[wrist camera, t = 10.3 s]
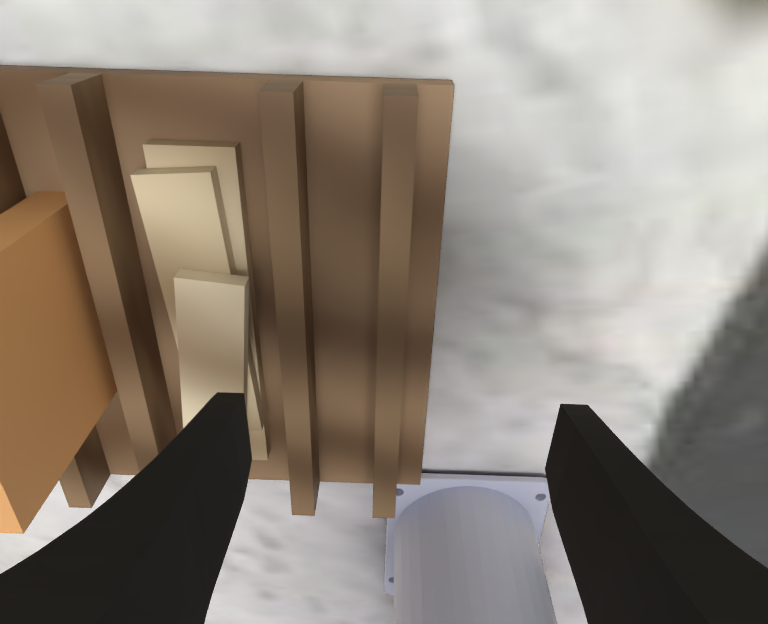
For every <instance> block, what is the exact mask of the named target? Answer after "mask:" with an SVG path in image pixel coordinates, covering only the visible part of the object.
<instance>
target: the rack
mask: <svg viewBox="0 0 768 624" xmlns="http://www.w3.org/2000/svg"><path fill="white" fill-rule="evenodd" d="M454 86H455V85H454V83H453V81H452V80H433V79H403V78H373V77H343V76H312V75H282V74H252V73H222V72H191V71H161V70H131V69H101V68H70V67H40V66H10V65H0V214H2V213H3V212H5V211H6V210H8V209H10V208H11V207H13V206H14V205H16V204H18V203H19V202H21V201H22V200H24V199H26V198H27V197H29V196H30V195H32V194H34V193H35V192H37V191H59V192H65V195H66V199H67V203H68V206H69V210H70V214H71V218H72V221H73V225H74V229H75V233H76V236H77V240H78V244H79V248H80V251H81V255H82V259H83V263H84V266H85V270H86V274H87V278H88V281H89V285H90V289H91V293H92V296H93V300H94V304H95V308H96V311H97V315H98V319H99V323H100V326H101V330H102V334H103V338H104V341H105V345H106V349H107V352H108V356H109V360H110V364H111V367H112V371H113V375H114V379H115V382H116V386H117V390H118V391H117V392H116V394H115V395H114V397H113V398H112V400H111V402H110V403H109V405H108V406H107V408H106V409H105V411H104V412H103V414H102V415H101V417H100V418H99V420H98V421H97V423H96V424H95V426H94V427H93V429H92V430H91V432H90V433H89V435H88V436H87V438H86V440H85V441H84V443H83V444H82V446H81V447H80V449H79V450H78V452H77V453H76V455H75V456H74V458H73V459H72V461H71V462H70V464H69V465H68V467H67V468H66V470H65V471H64V473H63V474H62V476H61V478H60V479H59V481H60V483H61V486H62V489H63V492H64V494H65V497H66V500H67V502H68V505H69V507H78V508H92V506H93V505H94V503H95V501H96V499H97V497H98V496H99V494H100V492H101V490H102V489H103V487H104V485H105V483H106V482H107V480H108V478H109V476H110V474H119V475H137V474H138V473H139V472H140V471H141V470H142V469H143V468H144V467H145V466H146V465H148V464H149V463H150V462H151V461H152V460H153V459H154V458H155V457H156V456H157V455H158V454H159V453H160V452H161V451H162V450H163V449H164V448H165V447H166V446H167V445H168V444H169V443H170V442H171V441H172V440H173V439H174V438H175V437H176V436H177V435H178V434H179V433H180V432H181V430H182V429H183V418H182V402H181V386H180V370H179V354H178V348H177V344H176V341H175V337H174V333H173V330H172V326H171V322H170V319H169V315H168V311H167V308H166V304H165V300H164V297H163V293H162V289H161V286H160V282H159V278H158V275H157V271H156V268H155V264H154V260H153V257H152V253H151V249H150V246H149V242H148V238H147V235H146V231H145V227H144V224H143V220H142V216H141V213H140V209H139V205H138V202H137V198H136V194H135V191H134V187H133V183H132V180H131V176H130V175H131V174H132V173H134V172H135V171H136V170H137V169H140V168H147V166H146V161H145V155H144V150H143V144H144V143H145V142H147V141H148V140H150V139H169V140H199V141H229V142H240V148H241V158H242V168H243V178H244V188H245V198H246V208H247V218H248V228H249V238H250V248H251V258H252V268H253V278H254V288H255V298H256V308H257V318H258V328H259V338H260V348H261V358H262V368H263V378H264V388H265V398H266V408H267V418H268V428H269V438H270V448H271V450H270V453H269V457H268V460H252V463H251V468H250V473H249V478H248V479H263V480H290V493H291V505H292V515H309V516H315V510H316V503H317V496H318V490H319V483H320V481H321V482H350V483H374V485H373V518H395V509H396V491H397V484H408V485H420V482H421V470H422V458H423V447H424V435H425V423H426V412H427V400H428V388H429V377H430V365H431V353H432V342H433V330H434V319H435V307H436V295H437V284H438V272H439V260H440V249H441V237H442V225H443V214H444V202H445V190H446V179H447V167H448V155H449V144H450V132H451V121H452V109H453V97H454Z"/></svg>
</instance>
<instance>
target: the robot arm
mask: <svg viewBox="0 0 768 624" xmlns="http://www.w3.org/2000/svg"><path fill="white" fill-rule="evenodd" d="M251 463H252V453H251V444H250V436H249V428H248V420H247V412H246V404H245V396H244V393H228V392H217V393H216V394H215V395H214V396H213V397H212V398H211V399H210V400H209V401H208V402H207V403H206V404H205V405H204V407H203V408H202V409H201V410H200V411H199V412H198V413H197V414H196V415H195V416H194V418H193V419H192V420H191V421H190V422H189V423H188V424H187V425H186V426H185V427H184V428H183V429H182V430H181V432H180V433H179V434H178V435H177V436H176V437H175V438H174V439H173V440H172V441H171V442H170V443H169V444H168V445H167V446H166V447H165V448H164V449H163V450H162V451H161V452H160V453H159V454H158V455H157V456H156V457H155V458H154V459H153V460H152V461H151V462H150V463H149V464H148V465H146V466H145V467H144V468H143V469H142V470H141V471H140V472H139V473H138V474H137V475H136V476H135V477H134V478H132V479H131V480H130V481H129V482H128V483H127V484H126V485H125V486H124V487H122V488H121V489H120V490H119V491H118V492H117V493H115V494H114V495H113V496H112V497H111V498H110V499H108V500H107V501H106V502H105V503H103V504H102V505H101V506H100V507H98V508H97V509H96V510H95V511H93V512H92V513H91V514H90V515H88V516H87V517H86V518H84V519H83V520H82V521H80V522H79V523H78V524H76V525H75V526H73V527H72V528H70V529H69V530H68V531H66V532H65V533H63V534H62V535H60V536H59V537H57V538H56V539H55V540H53V541H52V542H50V543H49V544H47V545H46V546H44V547H43V548H42V549H40V550H39V551H37V552H35V553H34V554H32V555H31V556H29V557H28V558H26V559H24V560H23V561H21V562H20V563H18V564H16V565H15V566H13V567H12V568H10V569H8V570H6V571H5V572H3V573H1V574H0V624H204V622H205V618H206V614H207V610H208V607H209V603H210V600H211V596H212V593H213V590H214V587H215V584H216V581H217V578H218V575H219V572H220V569H221V566H222V563H223V560H224V557H225V555H226V552H227V549H228V546H229V543H230V540H231V537H232V534H233V531H234V528H235V525H236V522H237V519H238V516H239V513H240V510H241V507H242V504H243V501H244V497H245V492H246V487H247V483H248V478H249V473H250V468H251ZM545 472H546V477H547V478H543V477H520V476H491V475H462V474H433V473H421V482H420V485H408V484H397V489H398V488H399V489H400V490H397V491H396V509H395V518H387V527H386V549H385V571H384V592H385V593H386V594H387V595H390V596H394V624H557V621H556V617H555V613H554V609H553V605H552V601H551V596H550V592H549V588H548V584H547V580H546V576H545V572H544V568H543V564H542V559H541V555H540V551H539V547H538V544H539V540H540V536H541V532H542V528H543V524H544V520H545V517H546V513H547V509H548V505H549V501H550V499H551V504H552V509H553V513H554V516H555V520H556V523H557V526H558V529H559V532H560V536H561V539H562V542H563V545H564V548H565V551H566V554H567V557H568V560H569V564H570V567H571V570H572V573H573V576H574V579H575V582H576V585H577V588H578V591H579V594H580V598H581V601H582V604H583V607H584V611H585V614H586V618H587V622H588V624H768V568H766V567H765V566H763V565H762V564H761V563H759V562H758V561H756V560H755V559H753V558H752V557H751V556H749V555H748V554H747V553H745V552H744V551H743V550H741V549H740V548H738V547H737V546H736V545H734V544H733V543H732V542H731V541H729V540H728V539H727V538H726V537H724V536H723V535H722V534H721V533H719V532H718V531H717V530H716V529H714V528H713V527H712V526H711V525H709V524H708V523H707V522H706V521H704V520H703V519H702V518H701V517H700V516H698V515H697V514H696V513H695V512H694V511H693V510H691V509H690V508H689V507H688V506H687V505H686V504H685V503H684V502H683V501H681V500H680V499H679V498H678V497H677V496H676V495H675V494H674V493H673V492H672V491H671V490H669V489H668V488H667V487H666V486H665V485H664V484H663V483H662V482H661V481H660V480H659V479H658V478H657V477H656V476H655V475H654V474H653V473H652V472H651V471H650V470H649V469H648V468H647V467H646V466H645V465H644V464H643V463H642V462H641V461H640V460H639V459H638V458H637V457H636V456H635V455H634V454H633V453H632V452H631V451H630V450H629V449H628V448H627V447H626V446H625V445H624V444H623V442H622V441H621V440H620V439H619V438H618V437H617V436H616V435H615V434H614V433H613V432H612V431H611V430H610V429H609V427H608V426H607V425H606V424H605V423H604V422H603V421H602V420H601V419H600V418H599V417H598V415H597V414H596V413H595V412H594V411H593V410H592V409H591V408H590V407H589V406H588V405H577V404H560V408H559V413H558V417H557V421H556V425H555V429H554V433H553V438H552V442H551V446H550V450H549V454H548V458H547V463H546V467H545ZM540 493H542V494H540ZM538 494H539V495H538Z"/></svg>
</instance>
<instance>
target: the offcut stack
mask: <svg viewBox="0 0 768 624" xmlns="http://www.w3.org/2000/svg"><path fill="white" fill-rule="evenodd" d="M143 150H144V155H145V161H146V166H147V168H140V169H137V170H136V171H135V172H134V173H132V174H131V175H130V176H131V180H132V183H133V187H134V191H135V194H136V198H137V202H138V205H139V209H140V213H141V216H142V220H143V224H144V227H145V231H146V235H147V238H148V242H149V246H150V249H151V253H152V257H153V260H154V264H155V268H156V271H157V275H158V278H159V282H160V286H161V289H162V293H163V297H164V300H165V304H166V308H167V311H168V315H169V319H170V322H171V326H172V330H173V333H174V337H175V341H176V344H177V348H178V354H179V370H180V386H181V402H182V418H183V428H184V427H185V426H186V425H187V424H188V423H189V422H190V421H191V420H192V419H193V418H194V416H195V415H196V414H197V413H198V412H199V411H200V410H201V409H202V408H203V407H204V405H205V404H206V403H207V402H208V401H209V400H210V399H211V398H212V397H213V396H214V395H215V394H216V393H217V392H228V393H244V396H245V404H246V412H247V420H248V428H249V436H250V444H251V453H252V460H268V457H269V453H270V450H271V448H270V438H269V428H268V418H267V408H266V398H265V388H264V378H263V368H262V358H261V348H260V338H259V328H258V318H257V308H256V298H255V288H254V278H253V268H252V258H251V248H250V238H249V228H248V218H247V208H246V198H245V188H244V178H243V168H242V158H241V148H240V142H229V141H199V140H169V139H150V140H148V141H147V142H145V143H144V144H143Z"/></svg>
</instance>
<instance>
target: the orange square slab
mask: <svg viewBox="0 0 768 624" xmlns="http://www.w3.org/2000/svg"><path fill="white" fill-rule="evenodd" d="M117 391H118V390H117V386H116V382H115V379H114V375H113V371H112V367H111V364H110V360H109V356H108V352H107V349H106V345H105V341H104V338H103V334H102V330H101V326H100V323H99V319H98V315H97V311H96V308H95V304H94V300H93V296H92V293H91V289H90V285H89V281H88V278H87V274H86V270H85V266H84V263H83V259H82V255H81V251H80V248H79V244H78V240H77V236H76V233H75V229H74V225H73V221H72V218H71V214H70V210H69V206H68V203H67V199H66V195H65V192H59V191H37V192H35V193H34V194H32V195H30V196H29V197H27V198H26V199H24V200H22V201H21V202H19V203H18V204H16V205H14V206H13V207H11V208H10V209H8V210H6V211H5V212H3V213H2V214H0V533H19V534H24V532H25V531H26V529H27V528H28V526H29V525H30V523H31V522H32V520H33V519H34V517H35V516H36V514H37V512H38V511H39V509H40V508H41V506H42V505H43V503H44V502H45V500H46V499H47V497H48V496H49V494H50V493H51V491H52V490H53V488H54V487H55V485H56V484H57V482H58V481H59V479H60V478H61V476H62V474H63V473H64V471H65V470H66V468H67V467H68V465H69V464H70V462H71V461H72V459H73V458H74V456H75V455H76V453H77V452H78V450H79V449H80V447H81V446H82V444H83V443H84V441H85V440H86V438H87V436H88V435H89V433H90V432H91V430H92V429H93V427H94V426H95V424H96V423H97V421H98V420H99V418H100V417H101V415H102V414H103V412H104V411H105V409H106V408H107V406H108V405H109V403H110V402H111V400H112V398H113V397H114V395H115V394H116V392H117Z"/></svg>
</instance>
